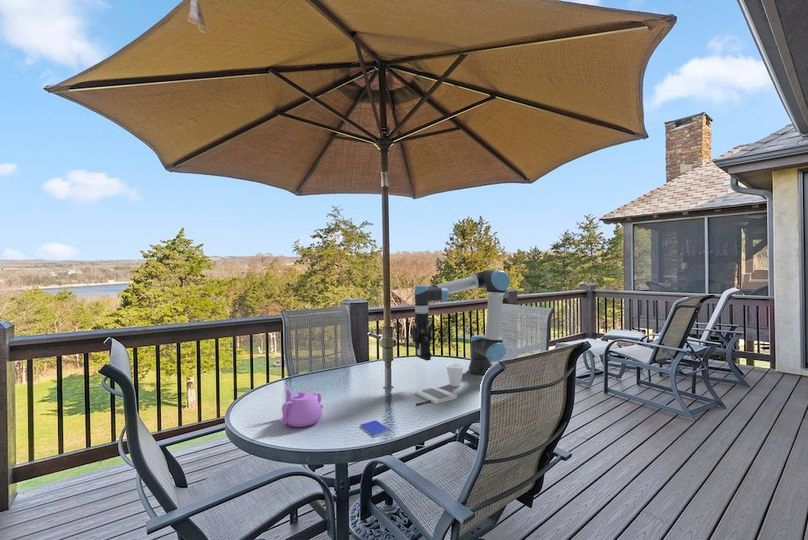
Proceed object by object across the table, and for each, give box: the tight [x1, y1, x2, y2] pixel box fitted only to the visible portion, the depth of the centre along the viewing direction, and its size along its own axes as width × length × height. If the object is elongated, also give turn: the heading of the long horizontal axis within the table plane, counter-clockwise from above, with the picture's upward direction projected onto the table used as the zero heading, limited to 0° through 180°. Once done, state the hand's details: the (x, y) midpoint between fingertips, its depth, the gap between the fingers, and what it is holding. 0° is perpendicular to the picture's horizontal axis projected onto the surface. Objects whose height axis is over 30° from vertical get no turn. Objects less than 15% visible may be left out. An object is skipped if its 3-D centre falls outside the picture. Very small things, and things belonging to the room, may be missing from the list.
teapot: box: [280, 386, 324, 428], centre depth 179 cm, size 22×22×14 cm
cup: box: [446, 363, 465, 387], centre depth 225 cm, size 10×10×11 cm
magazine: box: [414, 331, 433, 361], centre depth 221 cm, size 4×13×15 cm, turn 28°
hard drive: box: [359, 419, 392, 438], centre depth 169 cm, size 2×8×12 cm
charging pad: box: [414, 386, 458, 406], centre depth 205 cm, size 23×18×2 cm
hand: (422, 354), depth 222 cm, fingers closed on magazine, 4 cm apart
